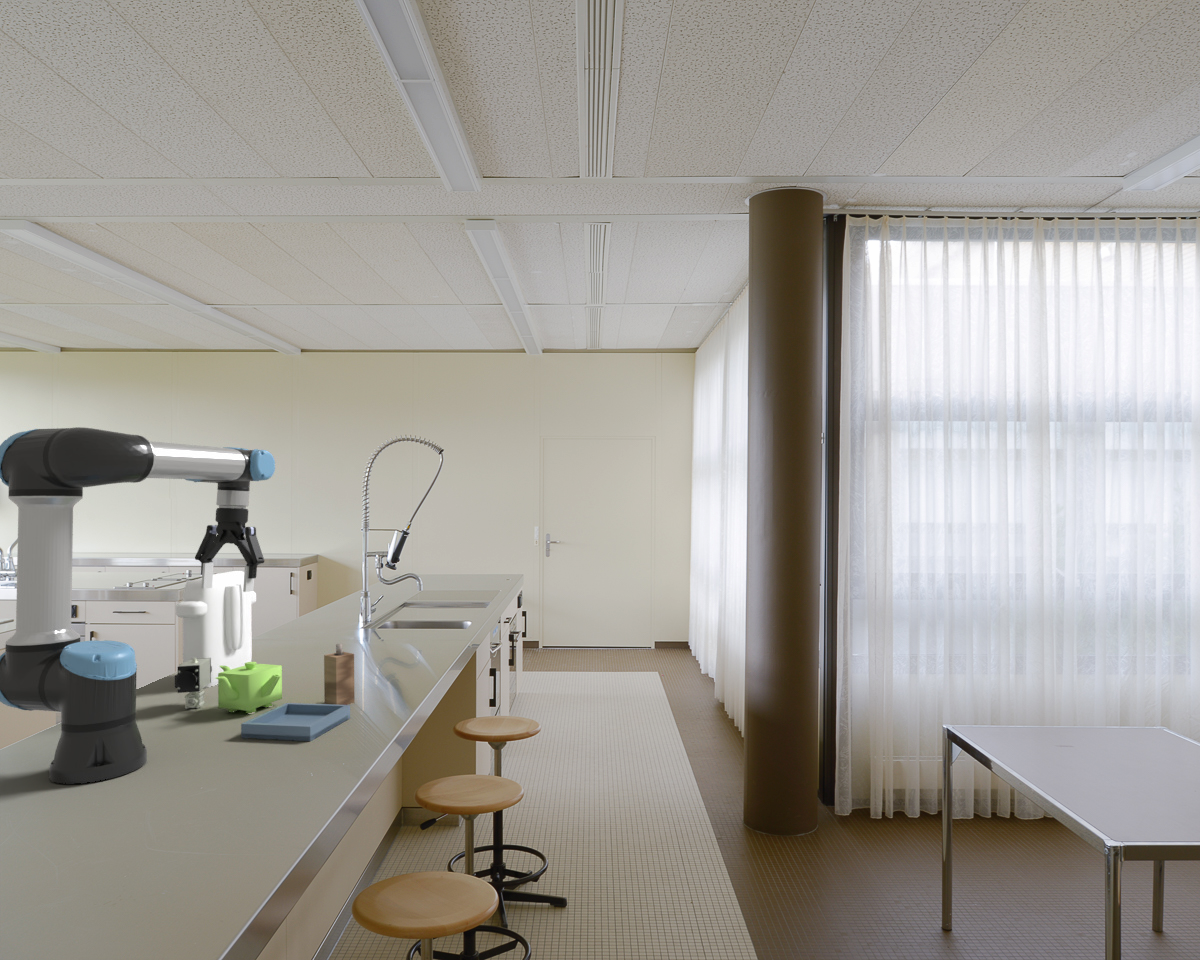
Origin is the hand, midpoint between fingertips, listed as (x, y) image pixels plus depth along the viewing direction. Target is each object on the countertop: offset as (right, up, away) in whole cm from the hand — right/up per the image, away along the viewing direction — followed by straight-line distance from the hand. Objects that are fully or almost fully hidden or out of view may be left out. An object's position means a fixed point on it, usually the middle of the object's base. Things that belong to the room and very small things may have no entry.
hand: (227, 589), depth 190 cm
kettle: (+11, -27, -12) cm, 32 cm away
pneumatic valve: (-3, -27, -10) cm, 29 cm away
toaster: (-10, -28, +18) cm, 35 cm away
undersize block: (+32, -27, -9) cm, 43 cm away
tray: (+30, -26, -28) cm, 48 cm away
